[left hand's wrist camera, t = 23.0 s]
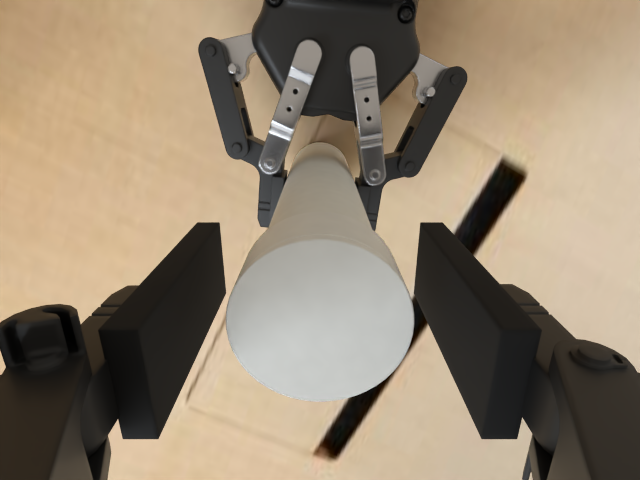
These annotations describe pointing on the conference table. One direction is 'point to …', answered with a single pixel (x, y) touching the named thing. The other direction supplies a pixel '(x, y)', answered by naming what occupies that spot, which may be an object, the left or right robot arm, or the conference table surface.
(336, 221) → the lid
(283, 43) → the right robot arm
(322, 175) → the bottle
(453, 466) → the conference table surface
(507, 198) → the conference table surface
